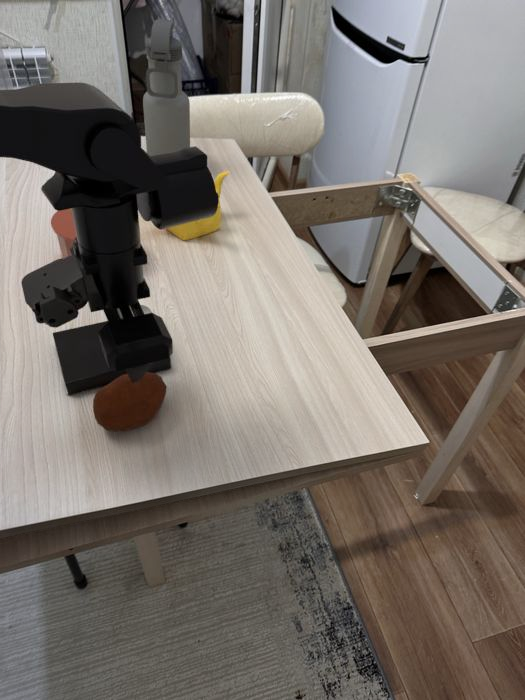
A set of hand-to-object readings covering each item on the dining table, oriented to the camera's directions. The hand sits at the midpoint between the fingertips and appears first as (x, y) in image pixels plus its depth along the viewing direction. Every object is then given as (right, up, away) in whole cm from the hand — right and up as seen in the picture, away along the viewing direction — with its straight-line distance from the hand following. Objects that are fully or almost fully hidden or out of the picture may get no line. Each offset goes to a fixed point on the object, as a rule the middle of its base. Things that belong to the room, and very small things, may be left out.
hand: (125, 352), depth 57 cm
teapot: (+1, +25, +39) cm, 47 cm away
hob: (-5, -1, +13) cm, 14 cm away
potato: (-1, -8, +6) cm, 10 cm away
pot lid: (-12, +21, +23) cm, 34 cm away
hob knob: (-1, +2, +12) cm, 13 cm away
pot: (-13, +16, +28) cm, 35 cm away
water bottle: (-6, +43, +56) cm, 71 cm away
